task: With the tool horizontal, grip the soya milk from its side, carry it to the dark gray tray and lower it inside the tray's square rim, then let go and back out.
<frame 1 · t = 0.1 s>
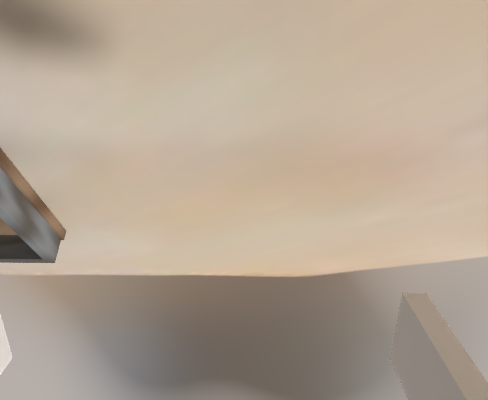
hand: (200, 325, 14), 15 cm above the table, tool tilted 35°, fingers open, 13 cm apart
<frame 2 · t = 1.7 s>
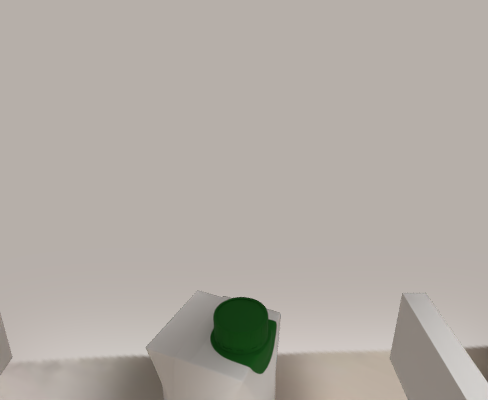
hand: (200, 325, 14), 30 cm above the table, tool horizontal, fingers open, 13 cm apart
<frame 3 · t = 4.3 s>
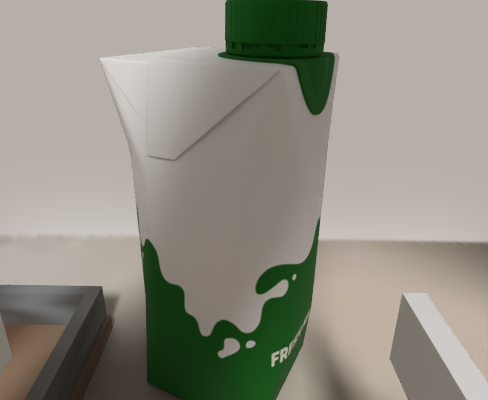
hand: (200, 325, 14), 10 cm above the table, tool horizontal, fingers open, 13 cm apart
soya milk: (228, 365, 25), on the table
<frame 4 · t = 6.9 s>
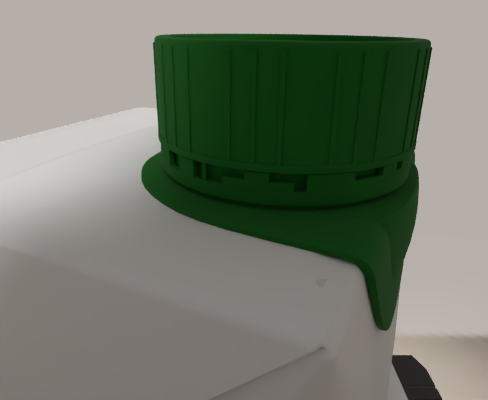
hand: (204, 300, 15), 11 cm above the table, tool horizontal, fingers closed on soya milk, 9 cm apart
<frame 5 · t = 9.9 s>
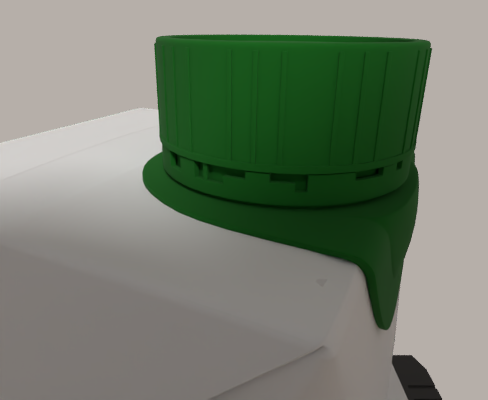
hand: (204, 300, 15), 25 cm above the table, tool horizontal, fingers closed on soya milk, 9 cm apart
when the fingers open (13 cm above the table, at t = 13.0 s): soya milk drops 1 cm, resting on dark gray tray.
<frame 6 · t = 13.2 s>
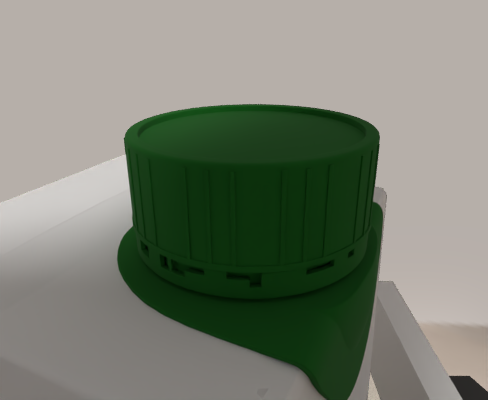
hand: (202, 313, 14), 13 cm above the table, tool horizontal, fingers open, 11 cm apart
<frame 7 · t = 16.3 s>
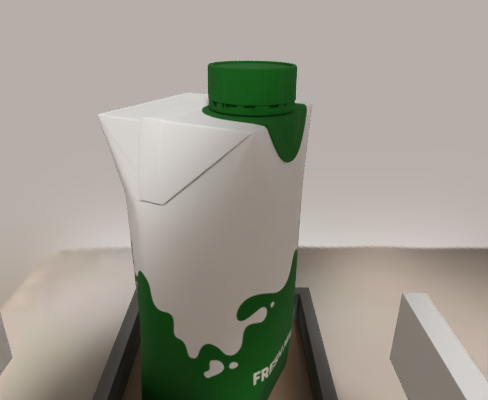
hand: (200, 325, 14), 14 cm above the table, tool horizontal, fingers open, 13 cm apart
soya milk: (217, 382, 27), point 1 cm above the table, touching dark gray tray
dark gray tray: (219, 390, 28), on the table
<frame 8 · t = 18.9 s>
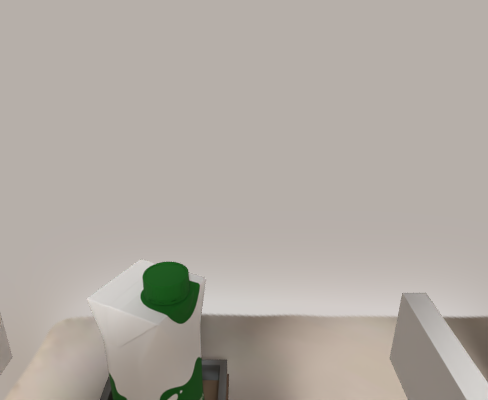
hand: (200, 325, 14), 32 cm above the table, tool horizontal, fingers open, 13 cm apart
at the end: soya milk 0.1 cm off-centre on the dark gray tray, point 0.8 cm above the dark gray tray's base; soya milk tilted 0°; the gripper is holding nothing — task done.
